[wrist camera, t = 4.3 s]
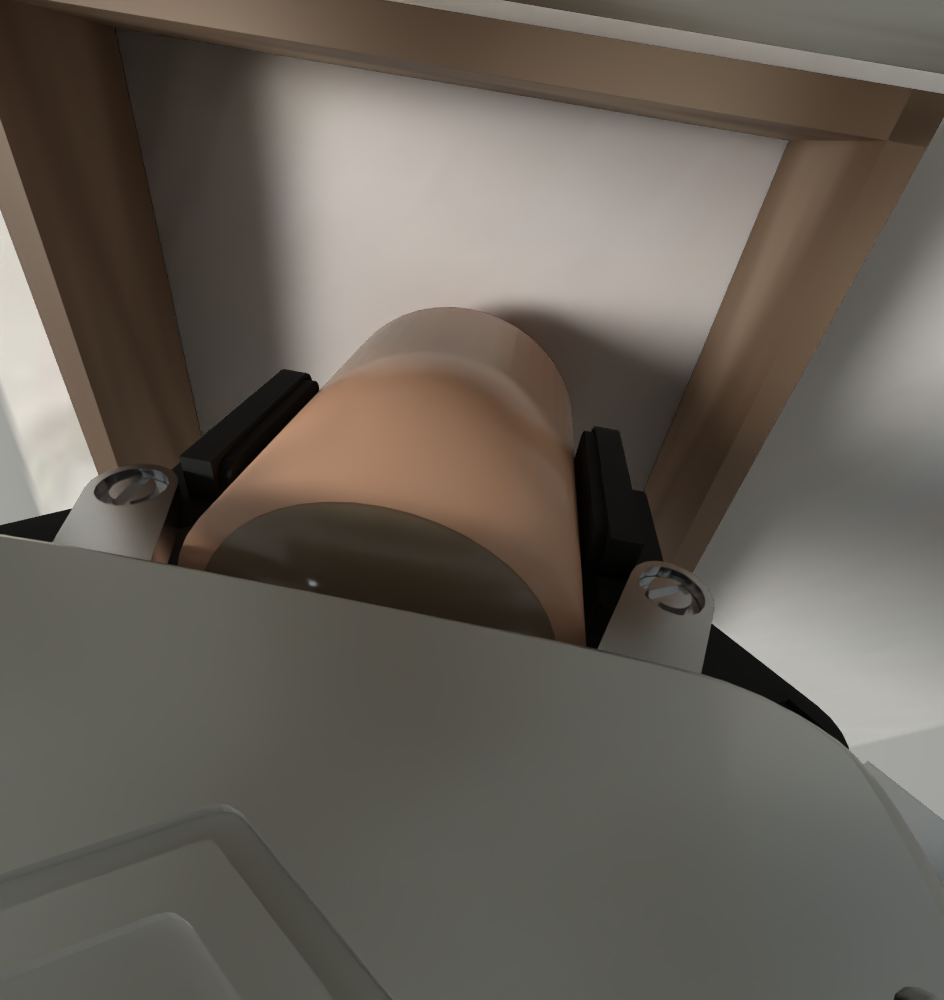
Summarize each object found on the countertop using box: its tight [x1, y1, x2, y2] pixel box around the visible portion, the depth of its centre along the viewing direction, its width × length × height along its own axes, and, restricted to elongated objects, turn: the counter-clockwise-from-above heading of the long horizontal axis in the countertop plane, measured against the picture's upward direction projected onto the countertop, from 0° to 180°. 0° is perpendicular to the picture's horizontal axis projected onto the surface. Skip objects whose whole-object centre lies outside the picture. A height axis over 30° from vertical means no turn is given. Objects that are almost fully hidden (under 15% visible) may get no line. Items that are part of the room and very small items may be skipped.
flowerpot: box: [177, 307, 586, 647], centre depth 10 cm, size 6×6×7 cm
